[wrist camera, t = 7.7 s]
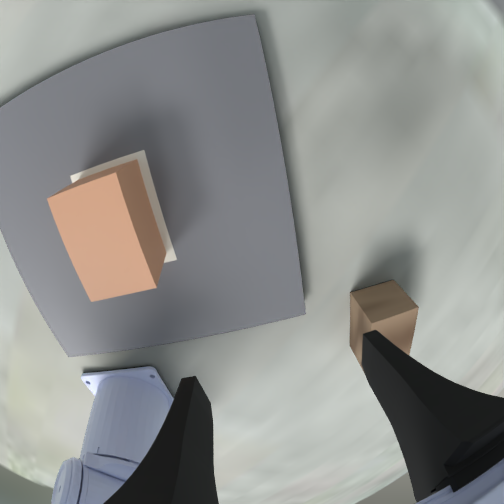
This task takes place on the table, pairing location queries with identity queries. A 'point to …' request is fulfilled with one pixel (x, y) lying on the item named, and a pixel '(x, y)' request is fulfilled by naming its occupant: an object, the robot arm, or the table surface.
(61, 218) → the brick terracotta
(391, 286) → the brick walnut
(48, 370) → the table surface
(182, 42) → the tower board
